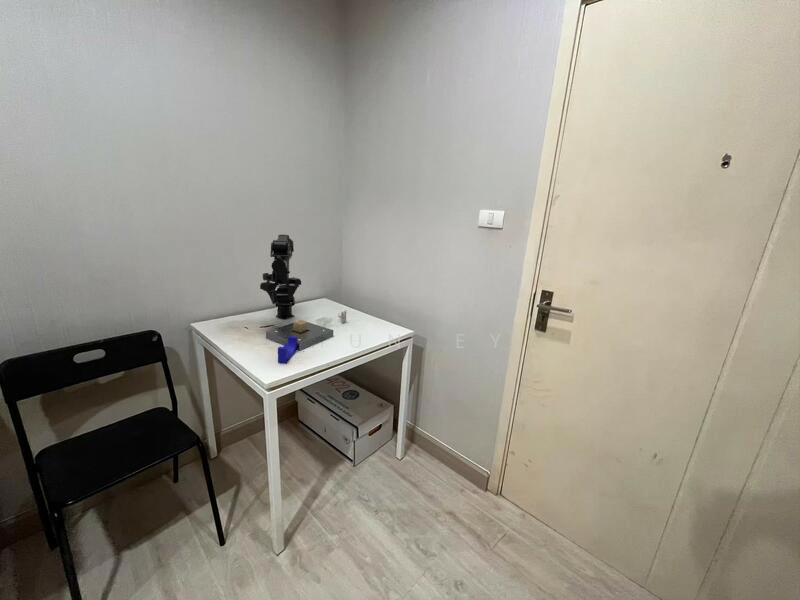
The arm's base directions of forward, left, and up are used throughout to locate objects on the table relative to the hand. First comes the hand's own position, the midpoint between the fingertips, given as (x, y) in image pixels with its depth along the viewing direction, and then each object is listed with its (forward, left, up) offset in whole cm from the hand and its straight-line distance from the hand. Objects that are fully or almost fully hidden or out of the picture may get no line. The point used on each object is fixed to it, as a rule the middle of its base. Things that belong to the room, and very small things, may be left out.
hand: (282, 302), depth 152 cm
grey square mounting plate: (+4, +16, -12) cm, 20 cm away
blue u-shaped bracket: (+20, +26, -12) cm, 35 cm away
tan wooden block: (+4, +16, -12) cm, 20 cm away
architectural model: (-18, +14, -13) cm, 27 cm away
